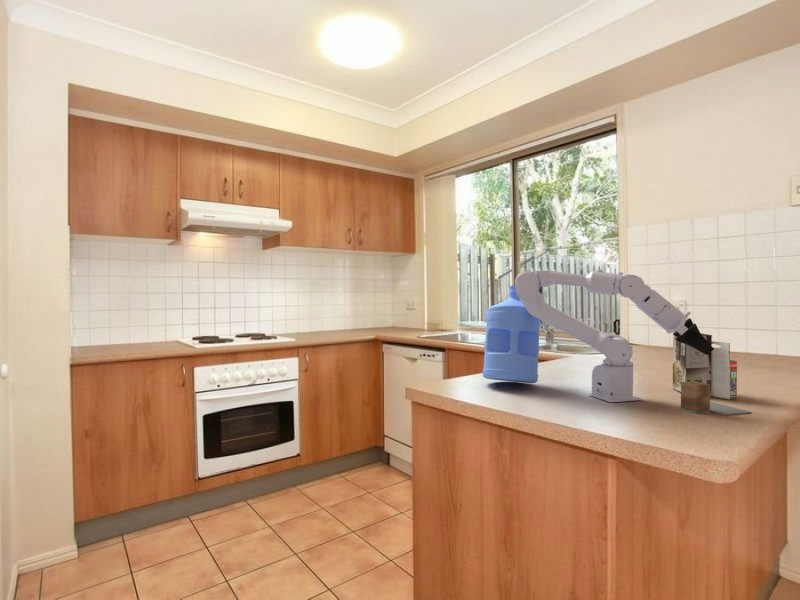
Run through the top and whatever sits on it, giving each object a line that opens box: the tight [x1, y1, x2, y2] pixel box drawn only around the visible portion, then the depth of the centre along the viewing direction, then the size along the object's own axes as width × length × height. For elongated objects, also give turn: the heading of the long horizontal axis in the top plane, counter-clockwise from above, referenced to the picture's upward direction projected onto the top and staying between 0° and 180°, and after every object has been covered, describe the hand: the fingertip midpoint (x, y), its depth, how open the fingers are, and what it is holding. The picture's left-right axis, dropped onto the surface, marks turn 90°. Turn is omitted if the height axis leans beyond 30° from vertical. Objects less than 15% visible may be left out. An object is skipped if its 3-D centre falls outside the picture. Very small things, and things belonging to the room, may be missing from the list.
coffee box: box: [672, 332, 713, 397], centre depth 123 cm, size 9×6×16 cm
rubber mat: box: [710, 401, 752, 417], centre depth 106 cm, size 8×10×1 cm
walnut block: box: [680, 381, 711, 415], centre depth 105 cm, size 4×4×6 cm
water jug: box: [482, 285, 541, 384], centre depth 133 cm, size 16×16×28 cm
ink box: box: [710, 340, 738, 400], centre depth 119 cm, size 4×8×15 cm, turn 26°
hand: (708, 349), depth 109 cm, fingers open, 7 cm apart
